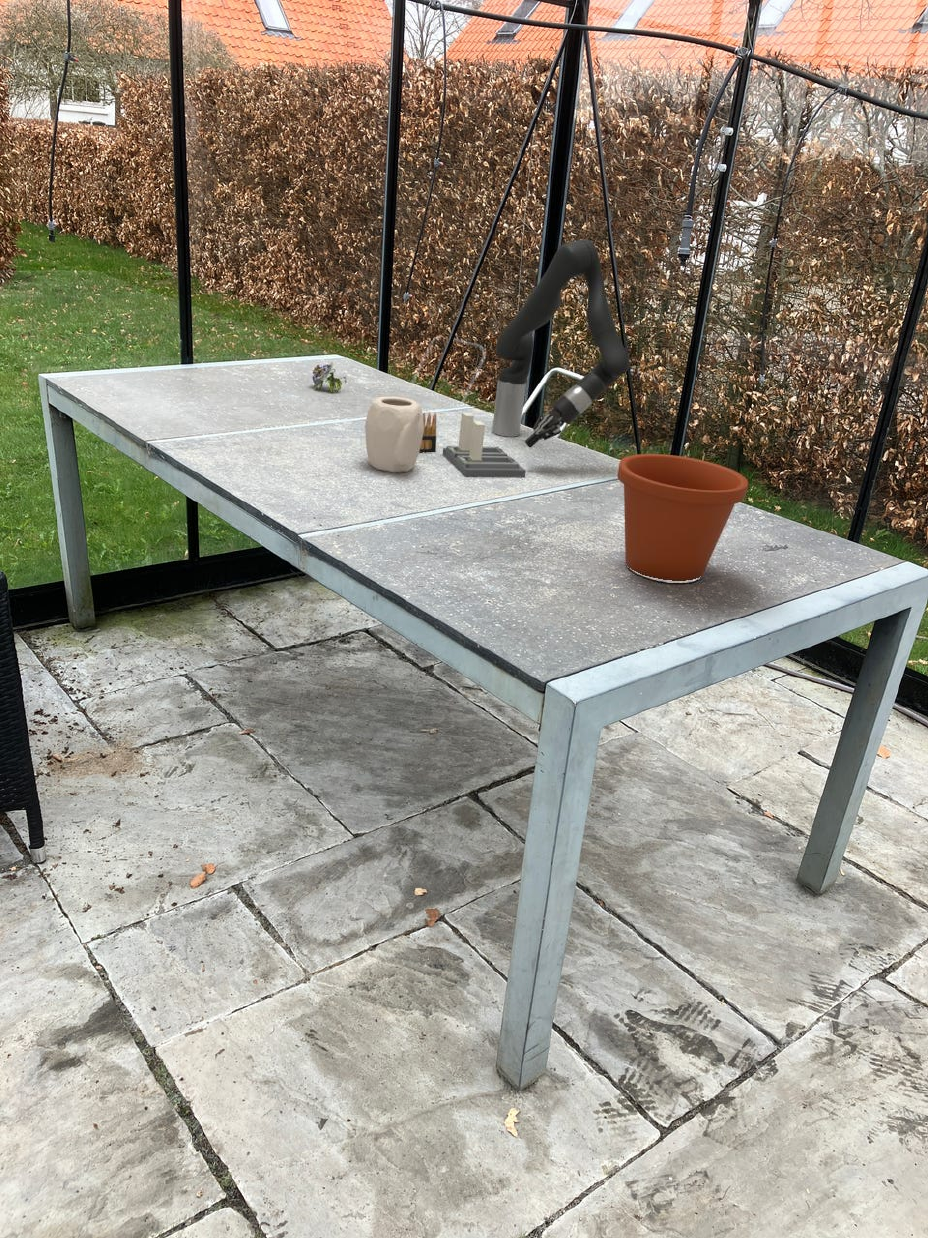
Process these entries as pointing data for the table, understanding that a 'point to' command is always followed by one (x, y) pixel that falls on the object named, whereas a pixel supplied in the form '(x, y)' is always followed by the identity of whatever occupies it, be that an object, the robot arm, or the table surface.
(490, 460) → the switch board
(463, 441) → the tab
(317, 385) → the passion flower
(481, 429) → the tab
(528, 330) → the robot arm
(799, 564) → the table surface
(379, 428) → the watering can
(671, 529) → the flower pot
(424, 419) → the ammunition clip
